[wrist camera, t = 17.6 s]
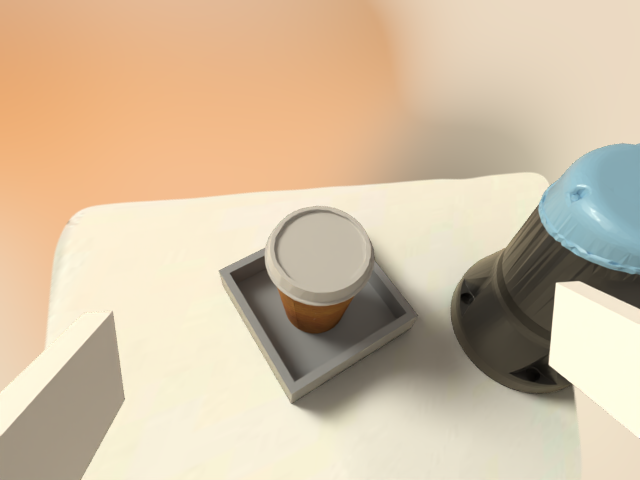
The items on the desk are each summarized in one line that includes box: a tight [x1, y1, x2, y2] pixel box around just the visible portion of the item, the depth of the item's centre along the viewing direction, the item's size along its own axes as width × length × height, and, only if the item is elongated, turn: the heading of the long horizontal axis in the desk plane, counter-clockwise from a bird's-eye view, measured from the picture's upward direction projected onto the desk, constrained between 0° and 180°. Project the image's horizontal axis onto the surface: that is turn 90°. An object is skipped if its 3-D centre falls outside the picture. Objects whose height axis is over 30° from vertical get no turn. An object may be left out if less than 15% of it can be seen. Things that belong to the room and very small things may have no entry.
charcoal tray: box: [219, 248, 418, 404], centre depth 48 cm, size 15×15×4 cm
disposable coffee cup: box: [264, 206, 375, 334], centre depth 44 cm, size 10×10×12 cm
